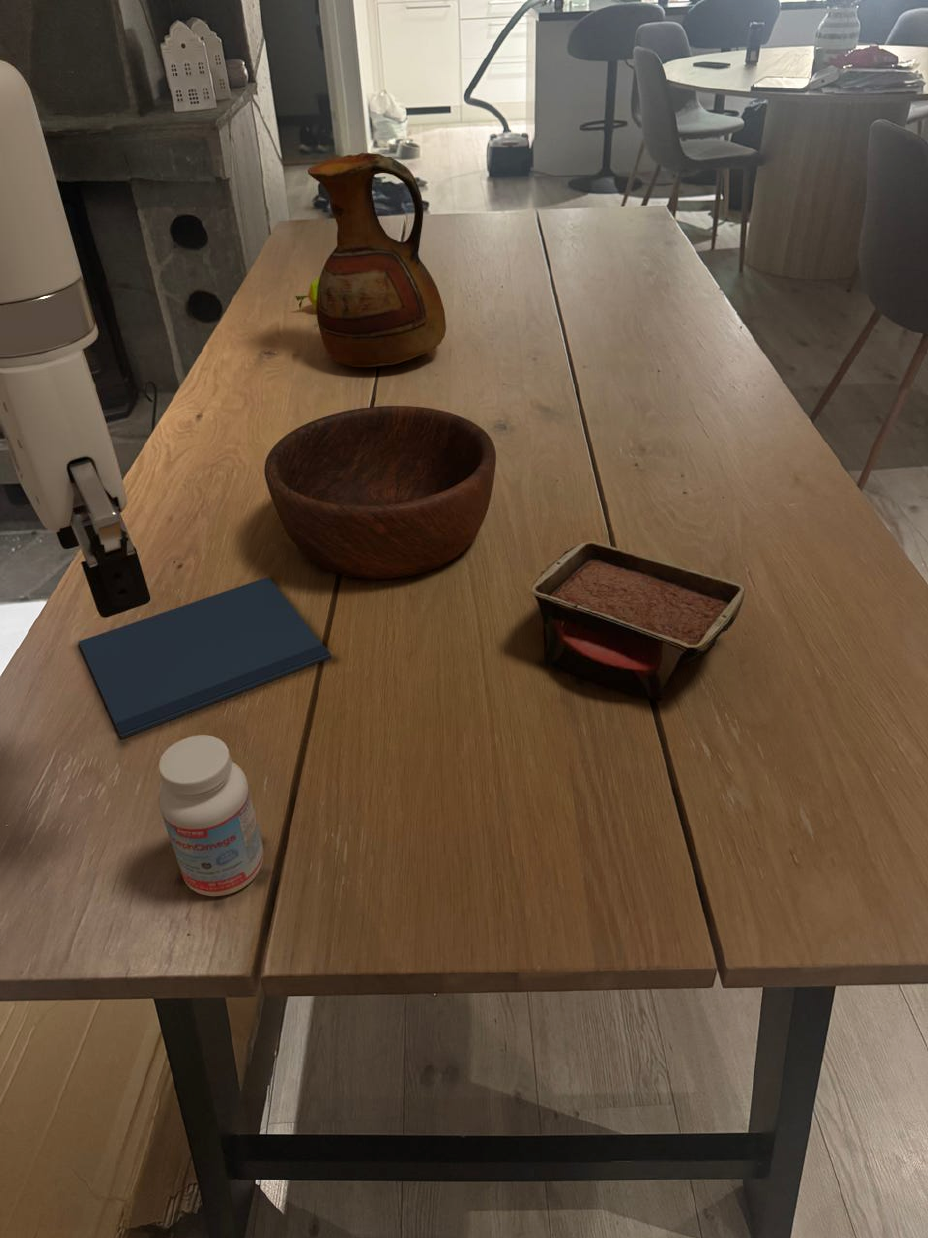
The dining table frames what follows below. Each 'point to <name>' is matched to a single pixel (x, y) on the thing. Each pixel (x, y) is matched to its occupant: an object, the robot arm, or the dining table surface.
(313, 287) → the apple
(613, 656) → the baking dish
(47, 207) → the robot arm
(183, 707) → the book
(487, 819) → the dining table surface
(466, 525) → the wooden bowl
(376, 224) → the ceramic pitcher
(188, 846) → the pill bottle
